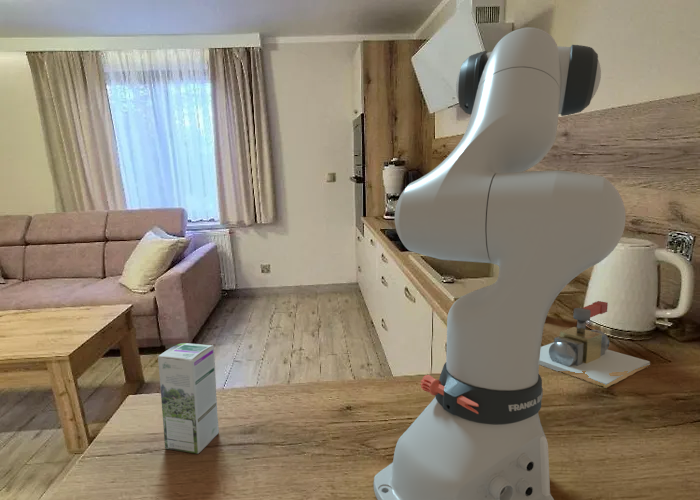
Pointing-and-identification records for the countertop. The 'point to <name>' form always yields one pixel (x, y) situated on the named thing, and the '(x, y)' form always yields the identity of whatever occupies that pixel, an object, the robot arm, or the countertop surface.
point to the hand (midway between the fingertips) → (565, 283)
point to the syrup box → (188, 396)
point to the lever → (590, 311)
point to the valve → (578, 345)
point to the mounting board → (596, 365)
